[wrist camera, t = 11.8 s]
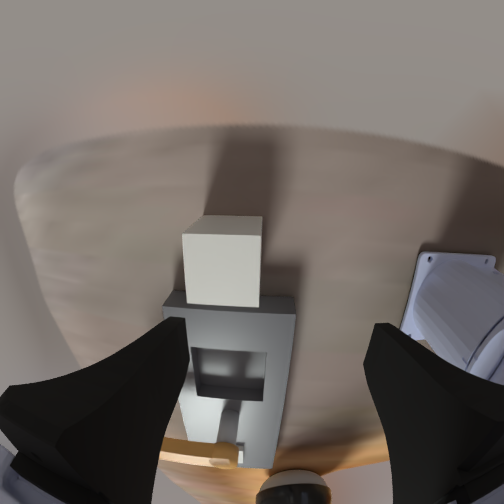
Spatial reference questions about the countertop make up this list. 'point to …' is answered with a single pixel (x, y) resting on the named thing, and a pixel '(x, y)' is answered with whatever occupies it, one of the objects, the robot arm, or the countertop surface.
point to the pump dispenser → (294, 489)
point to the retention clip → (200, 453)
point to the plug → (223, 260)
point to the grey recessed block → (236, 373)
